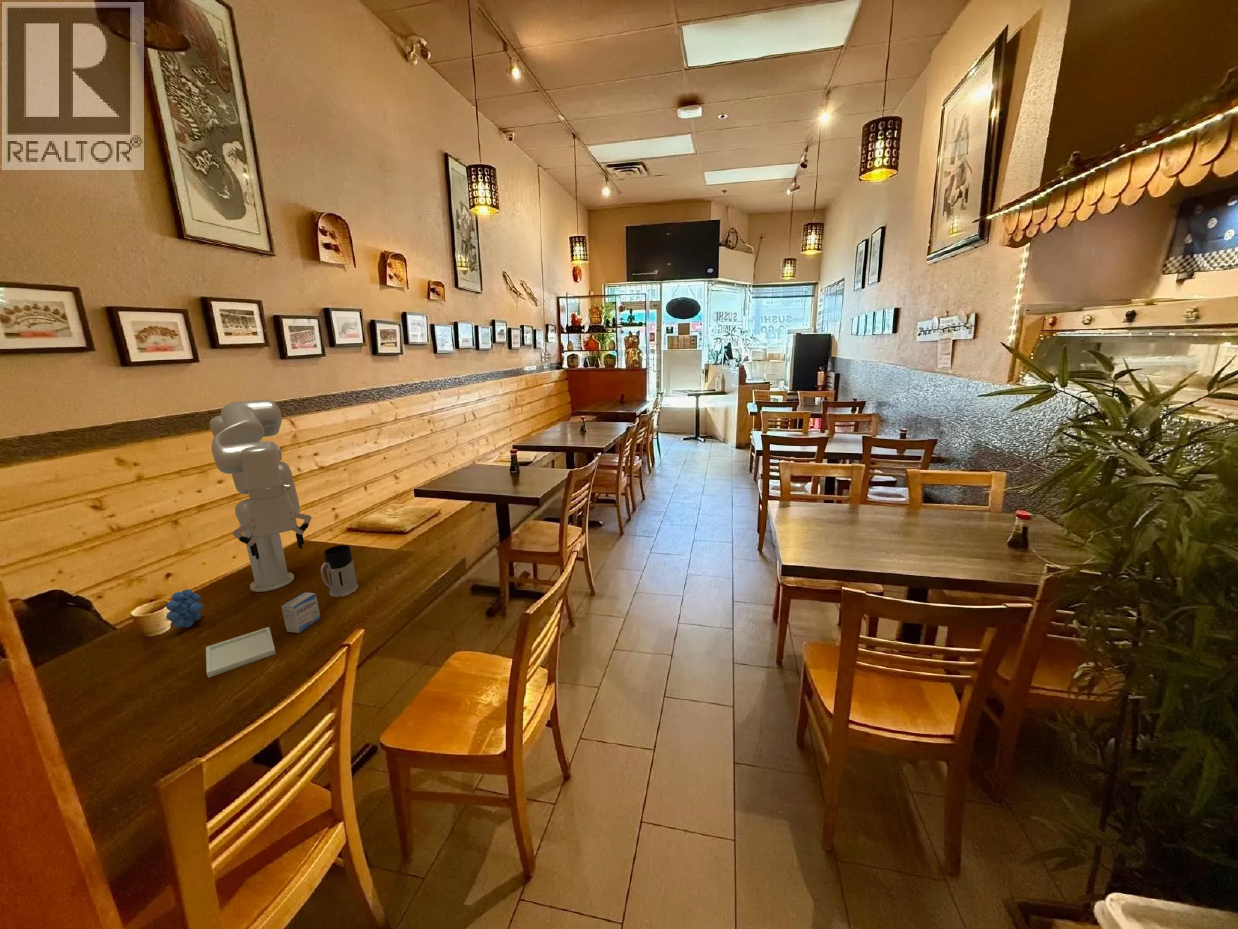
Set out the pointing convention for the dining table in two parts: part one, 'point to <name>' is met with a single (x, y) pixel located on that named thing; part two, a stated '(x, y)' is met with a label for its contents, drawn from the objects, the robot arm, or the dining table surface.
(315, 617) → the medicine box
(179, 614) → the grapes
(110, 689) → the dining table surface
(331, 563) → the glass holder
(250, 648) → the tray
